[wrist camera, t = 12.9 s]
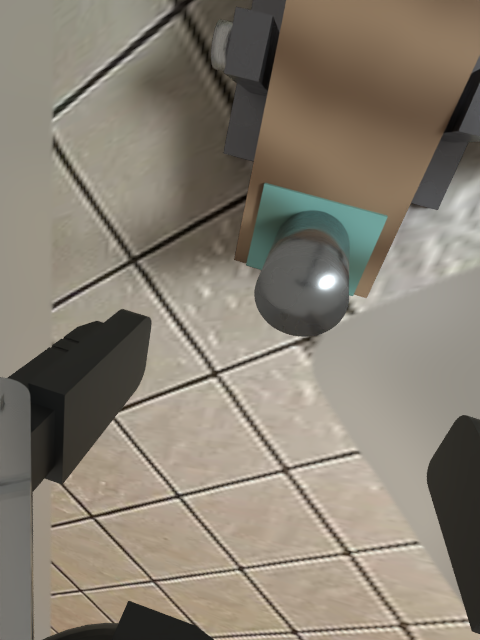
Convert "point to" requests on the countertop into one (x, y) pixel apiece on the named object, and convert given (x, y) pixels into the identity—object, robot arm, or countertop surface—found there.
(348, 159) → the beam
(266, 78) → the seesaw stand
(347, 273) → the cylinder
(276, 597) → the countertop surface
